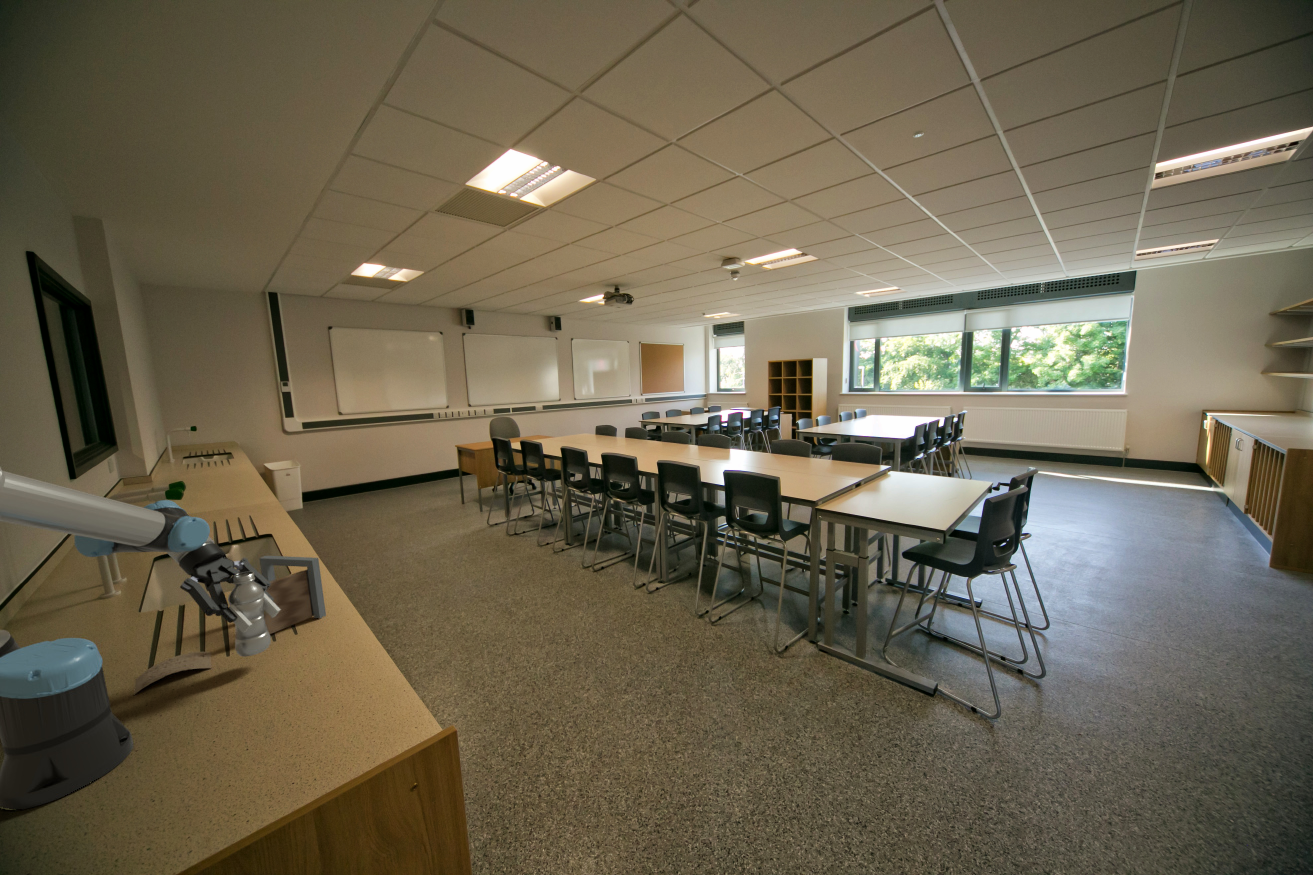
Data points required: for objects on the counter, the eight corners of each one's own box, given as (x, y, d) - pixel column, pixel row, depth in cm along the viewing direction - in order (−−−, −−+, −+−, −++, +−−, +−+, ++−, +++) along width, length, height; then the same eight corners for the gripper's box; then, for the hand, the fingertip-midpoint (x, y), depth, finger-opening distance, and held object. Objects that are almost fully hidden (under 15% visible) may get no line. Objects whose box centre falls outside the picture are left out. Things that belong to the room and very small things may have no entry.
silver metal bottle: (256, 660, 107) (245, 579, 105) (228, 660, 108) (216, 580, 105) (279, 644, 114) (269, 568, 111) (252, 645, 114) (242, 568, 112)
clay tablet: (129, 700, 101) (127, 689, 101) (130, 681, 108) (128, 670, 107) (218, 668, 112) (217, 658, 111) (214, 652, 118) (212, 643, 118)
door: (313, 613, 135) (307, 568, 133) (318, 615, 133) (312, 570, 132) (259, 635, 123) (251, 587, 122) (263, 638, 122) (256, 589, 120)
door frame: (320, 618, 133) (312, 560, 130) (268, 615, 136) (259, 558, 133) (326, 615, 135) (318, 557, 132) (274, 611, 138) (266, 555, 135)
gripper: (231, 549, 120) (292, 610, 119) (139, 580, 101) (210, 653, 100) (246, 530, 118) (307, 592, 118) (155, 558, 100) (227, 632, 99)
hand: (262, 620), depth 109 cm, fingers closed on silver metal bottle, 6 cm apart
